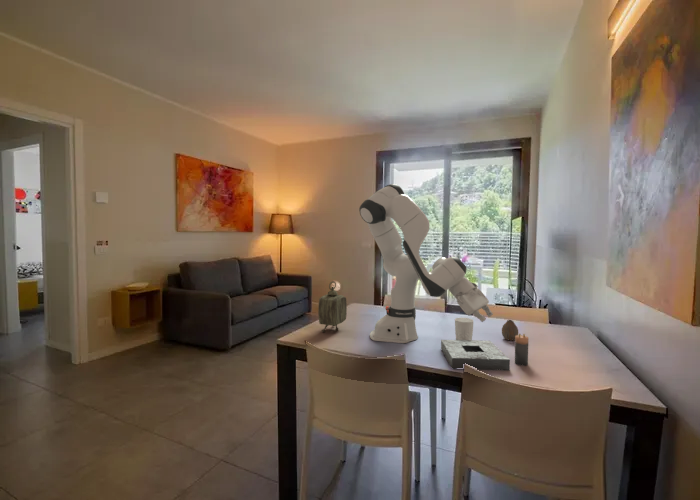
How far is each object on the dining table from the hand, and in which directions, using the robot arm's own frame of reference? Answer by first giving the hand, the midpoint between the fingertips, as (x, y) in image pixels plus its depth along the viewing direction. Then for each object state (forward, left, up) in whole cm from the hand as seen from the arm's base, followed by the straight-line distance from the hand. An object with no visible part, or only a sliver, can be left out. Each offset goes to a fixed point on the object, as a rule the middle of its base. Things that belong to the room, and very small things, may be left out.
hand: (488, 318), depth 127 cm
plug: (+10, -7, -15) cm, 19 cm away
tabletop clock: (-66, +29, -15) cm, 74 cm away
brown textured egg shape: (+17, +21, -15) cm, 32 cm away
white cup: (-5, +16, -15) cm, 23 cm away
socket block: (-7, -4, -15) cm, 17 cm away
